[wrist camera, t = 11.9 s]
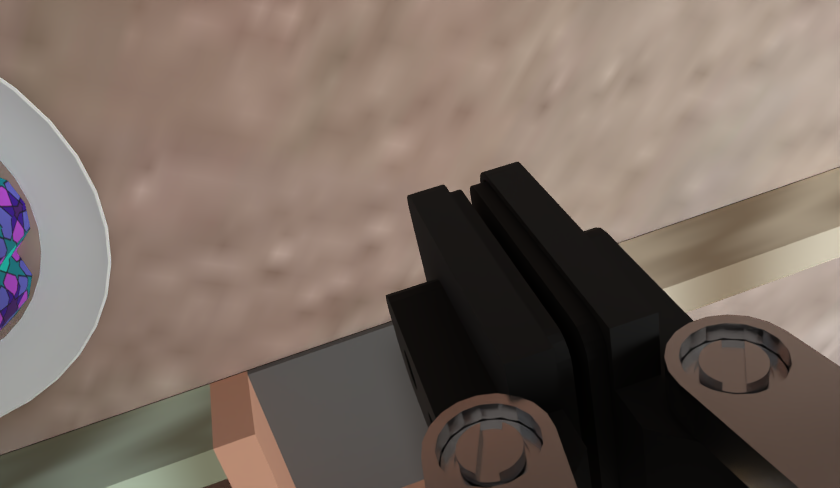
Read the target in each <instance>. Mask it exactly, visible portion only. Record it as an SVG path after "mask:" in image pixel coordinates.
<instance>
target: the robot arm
mask: <svg viewBox="0 0 840 488" xmlns="http://www.w3.org/2000/svg"><path fill="white" fill-rule="evenodd" d="M470 195H471V201H472V204H471V203H470V201H469V200H468V199H467V197H466V196H465V194H464V193H463V191H462V190H457V191H454V192H449V190H448V189H447V187H446V186H445V185H440V186H437V187H433V188H430V189H427V190H424V191H420V192H417V193H414V194H411V195H408V196H407V199H408V206H409V210H410V214H411V218H412V222H413V227H414V231H415V235H416V239H417V243H418V247H419V251H420V255H421V259H422V264H423V268H424V272H425V276H426V280H427V282H425V283H422V284H419V285H416V286H413V287H410V288H407V289H404V290H401V291H397V292H394V293H391V294H388V295H386V300H387V304H388V308H389V312H390V315H391V319H392V323H393V326H394V330H395V333H396V337H397V340H398V343H399V347H400V350H401V353H402V356H403V360H404V363H405V366H406V369H407V372H408V375H409V378H410V381H411V384H412V386H413V389H414V392H415V395H416V397H417V400H418V402H419V405H420V408H421V410H422V413H423V416H424V418H425V421H426V424H427V426H428V430H427V432H426V434H425V436H424V439H423V441H422V452H421V461H422V468H423V475H424V482H425V488H840V366H838V365H837V364H835V363H834V362H832V361H831V360H829V359H828V358H826V357H825V356H823V355H822V354H820V353H819V352H817V351H816V350H814V349H813V348H811V347H810V346H808V345H807V344H805V343H804V342H802V341H801V340H799V339H798V338H796V337H795V336H793V335H792V334H790V333H789V332H787V331H786V330H784V329H782V328H780V327H778V326H776V325H774V324H772V323H770V322H768V321H764V320H761V319H757V318H753V317H749V316H740V315H718V316H709V317H705V318H702V319H699V320H696V321H693V320H692V319H691V318H690V317H689V316H688V315H687V314H686V313H685V312H684V311H683V310H682V309H681V308H680V307H679V306H678V305H677V304H676V303H675V302H674V301H673V300H672V299H671V297H670V296H669V295H668V294H667V293H666V292H665V291H664V290H663V289H662V288H661V287H660V286H659V285H658V284H657V283H656V282H655V281H654V280H653V279H652V278H651V277H650V276H649V275H648V274H647V273H646V272H645V271H644V270H643V269H642V268H641V267H640V266H639V265H638V264H637V263H636V262H635V261H634V260H633V259H632V258H631V257H630V256H629V255H628V254H627V253H626V252H625V251H624V250H623V249H622V247H621V246H620V245H619V244H618V243H617V242H616V241H615V240H614V239H613V238H612V237H611V236H610V235H609V234H608V233H607V232H605V231H604V230H603V229H601V228H593V229H590V230H586V231H583V230H582V229H581V228H580V227H579V226H578V225H577V224H576V223H575V222H574V221H573V220H572V219H571V217H570V216H569V215H568V214H567V213H566V212H565V211H564V210H563V209H562V208H561V207H560V206H559V204H558V203H557V202H556V201H555V200H554V199H553V198H552V197H551V196H550V195H549V194H548V193H547V192H546V190H545V189H544V188H543V187H542V186H541V185H540V184H539V183H538V182H537V181H536V180H535V179H534V178H533V176H532V175H531V174H530V173H529V172H528V171H527V170H526V169H525V168H524V167H523V166H522V165H521V164H520V163H519V162H514V163H511V164H508V165H505V166H501V167H498V168H495V169H492V170H488V171H485V172H482V173H481V175H480V183H479V184H476V185H473V186H471V187H470Z"/></svg>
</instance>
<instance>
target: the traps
mask: <svg viewBox="0 0 840 488" xmlns="http://www.w3.org/2000/svg"><path fill="white" fill-rule="evenodd" d="M210 399H211V417H212V436H213V450H214V452H215V454H216V456H217V458H218V460H219V462H220V464H221V466H222V468H223V470H224V472H225V474H226V476H227V478H228V480H229V482H230V484H231V486H232V488H425V482H424V475H423V468H422V461H421V452H422V441H423V439H424V436H425V434H426V432H427V430H428V426H427V424H426V421H425V418H424V416H423V413H422V410H421V408H420V405H419V402H418V400H417V397H416V395H415V392H414V389H413V386H412V384H411V381H410V378H409V375H408V372H407V369H406V366H405V363H404V360H403V356H402V353H401V350H400V347H399V343H398V340H397V337H396V333H395V330H394V326H393V323H392V321H391V322H388V323H386V324H383V325H380V326H377V327H374V328H371V329H368V330H365V331H362V332H359V333H356V334H354V335H351V336H348V337H345V338H342V339H339V340H336V341H333V342H330V343H327V344H324V345H322V346H319V347H316V348H313V349H310V350H307V351H304V352H301V353H298V354H295V355H292V356H290V357H287V358H284V359H281V360H278V361H275V362H272V363H269V364H266V365H263V366H260V367H258V368H255V369H252V370H249V371H246V372H243V373H240V374H237V375H234V376H231V377H228V378H226V379H223V380H220V381H217V382H214V383H211V384H210Z"/></svg>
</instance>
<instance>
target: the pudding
mask: <svg viewBox="0 0 840 488" xmlns="http://www.w3.org/2000/svg"><path fill="white" fill-rule="evenodd" d="M0 161H1V162H2V163H3V164H4V165H5V166H6V168H7V169H8V170H9V171H10V172H11V174H12V175H13V176H14V177H15V179H16V181H17V182H18V184H19V186H20V187H21V189H22V191H23V193H24V194H25V196H26V198H27V199H28V201H29V203H30V206H31V209H32V212H33V215H34V217H35V220H36V223H37V226H38V231H39V238H40V245H41V264H40V276H39V279H38V282H37V286H36V289H35V292H34V295H33V298H32V300H31V302H30V304H29V306H28V307H27V309H26V311H25V313H24V314H23V316H22V318H21V319H20V321H19V322H18V323H17V324H16V325H15V326H14V327H13V329H12V330H11V331H10V332H9V333H8V334H7V335H6V337H4V338H3V339H2V340H1V341H0V417H2V416H4V415H5V414H7V413H9V412H11V411H13V410H15V409H16V408H18V407H20V406H22V405H24V404H25V403H27V402H29V401H31V400H32V399H33V398H34V397H36V396H37V395H38V394H40V393H41V392H42V391H43V390H45V389H46V388H47V387H49V386H50V385H51V384H52V383H54V382H55V381H56V380H58V378H59V377H60V376H61V375H62V374H63V373H64V372H65V371H66V370H67V368H68V367H69V366H70V365H71V364H72V363H73V362H74V361H75V360H76V358H77V357H78V356H79V355H80V354H81V352H82V350H83V349H84V347H85V345H86V344H87V342H88V340H89V339H90V337H91V335H92V334H93V332H94V330H95V329H96V327H97V324H98V321H99V318H100V316H101V313H102V310H103V307H104V304H105V301H106V298H107V295H108V286H109V277H110V269H111V254H110V244H109V233H108V226H107V223H106V219H105V216H104V213H103V210H102V206H101V203H100V200H99V197H98V194H97V191H96V189H95V187H94V185H93V183H92V181H91V179H90V178H89V176H88V174H87V172H86V170H85V168H84V166H83V164H82V162H81V161H80V159H79V157H78V155H77V154H76V153H75V151H74V150H73V149H72V147H71V146H70V145H69V144H68V142H67V141H66V140H65V138H64V137H63V136H62V135H61V133H60V132H59V131H58V129H57V128H56V127H55V126H54V124H53V123H52V122H51V121H50V120H49V119H48V118H47V117H46V116H45V115H44V114H43V113H42V112H41V111H40V110H39V109H38V108H37V107H35V106H34V105H33V104H32V103H31V102H30V101H29V100H28V99H27V98H26V97H25V96H24V95H23V94H22V93H20V92H19V91H18V90H17V89H16V88H15V87H13V86H12V85H11V84H9V83H8V82H6V81H5V80H3V79H2V78H0ZM29 229H30V225H29V220H28V216H27V211H26V206H25V203H24V202H23V200H22V199H21V198H20V196H19V195H18V194H17V193H16V191H15V190H14V189H13V187H12V186H11V185H10V183H9V182H8V181H7V180H4V179H2V178H0V330H1V329H2V328H3V327H4V326H5V325H6V324H7V323H8V322H9V321H10V320H11V319H12V318H13V317H14V316H15V315H16V313H17V312H18V311H19V309H20V308H21V307H22V306H23V304H24V303H25V302H26V300H27V299H28V298H29V293H30V286H31V279H32V274H31V272H30V271H29V269H28V268H27V266H26V265H25V264H24V262H23V261H22V259H21V258H20V256H19V255H18V253H17V252H16V251H17V249H18V247H19V246H20V244H21V242H22V241H23V239H24V238H25V236H26V234H27V233H28V231H29Z"/></svg>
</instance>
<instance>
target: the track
mask: <svg viewBox="0 0 840 488" xmlns="http://www.w3.org/2000/svg"><path fill="white" fill-rule="evenodd" d="M618 244H619V245H620V246H621V247H622V249H623V250H624V251H625V252H626V253H627V254H628V255H629V256H630V257H631V258H632V259H633V260H634V261H635V262H636V263H637V264H638V265H639V266H640V267H641V268H642V269H643V270H644V271H645V272H646V273H647V274H648V275H649V276H650V277H651V278H652V279H653V280H654V281H655V282H656V283H657V284H658V285H659V286H660V287H661V288H662V289H663V290H664V291H665V292H666V293H667V294H668V295H669V296H670V297H671V299H672V300H673V301H674V302H675V303H676V304H677V305H678V306H679V307H680V308H681V309H682V310H683V311H684V312H685V313H687V312H689V311H692V310H695V309H698V308H701V307H703V306H706V305H709V304H712V303H714V302H717V301H720V300H723V299H725V298H728V297H731V296H734V295H736V294H739V293H742V292H745V291H748V290H750V289H753V288H756V287H759V286H761V285H764V284H767V283H770V282H772V281H775V280H778V279H781V278H783V277H786V276H789V275H792V274H795V273H797V272H800V271H803V270H806V269H808V268H811V267H814V266H817V265H819V264H822V263H825V262H828V261H830V260H833V259H836V258H839V257H840V167H839V168H836V169H834V170H831V171H828V172H825V173H822V174H819V175H816V176H813V177H810V178H807V179H804V180H802V181H799V182H796V183H793V184H790V185H787V186H784V187H781V188H778V189H775V190H772V191H770V192H767V193H764V194H761V195H758V196H755V197H752V198H749V199H746V200H743V201H740V202H738V203H735V204H732V205H729V206H726V207H723V208H720V209H717V210H714V211H711V212H708V213H706V214H703V215H700V216H697V217H694V218H691V219H688V220H685V221H682V222H679V223H676V224H674V225H671V226H668V227H665V228H662V229H659V230H656V231H653V232H650V233H647V234H644V235H642V236H639V237H636V238H633V239H630V240H627V241H624V242H621V243H618ZM225 479H228V478H227V476H226V474H225V472H224V470H223V468H222V466H221V464H220V462H219V460H218V458H217V456H216V454H215V452H214V450H213V436H212V417H211V399H210V384H208V385H205V386H202V387H199V388H196V389H194V390H191V391H188V392H185V393H182V394H179V395H176V396H173V397H170V398H167V399H164V400H162V401H159V402H156V403H153V404H150V405H147V406H144V407H141V408H138V409H135V410H132V411H130V412H127V413H124V414H121V415H118V416H115V417H112V418H109V419H106V420H103V421H100V422H98V423H95V424H92V425H89V426H86V427H83V428H80V429H77V430H74V431H71V432H68V433H66V434H63V435H60V436H57V437H54V438H51V439H48V440H45V441H42V442H39V443H36V444H34V445H31V446H28V447H25V448H22V449H19V450H16V451H13V452H10V453H7V454H4V455H2V456H0V488H203V487H206V486H208V485H211V484H214V483H217V482H220V481H222V480H225Z"/></svg>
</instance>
